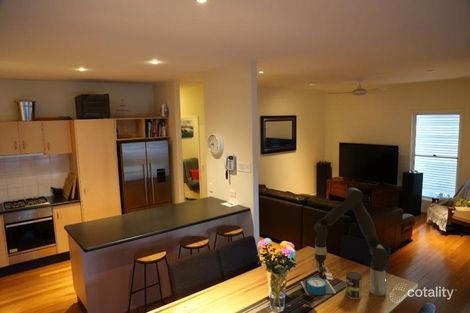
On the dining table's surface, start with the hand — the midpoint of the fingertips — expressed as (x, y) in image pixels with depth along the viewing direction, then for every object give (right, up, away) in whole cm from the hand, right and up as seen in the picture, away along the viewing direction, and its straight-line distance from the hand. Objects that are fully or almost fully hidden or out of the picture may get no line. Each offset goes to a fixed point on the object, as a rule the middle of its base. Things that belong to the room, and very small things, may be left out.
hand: (320, 276), depth 219 cm
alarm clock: (0, -9, -3) cm, 10 cm away
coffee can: (+22, -12, -2) cm, 25 cm away
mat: (0, -11, +8) cm, 14 cm away
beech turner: (+13, -9, +26) cm, 30 cm away
